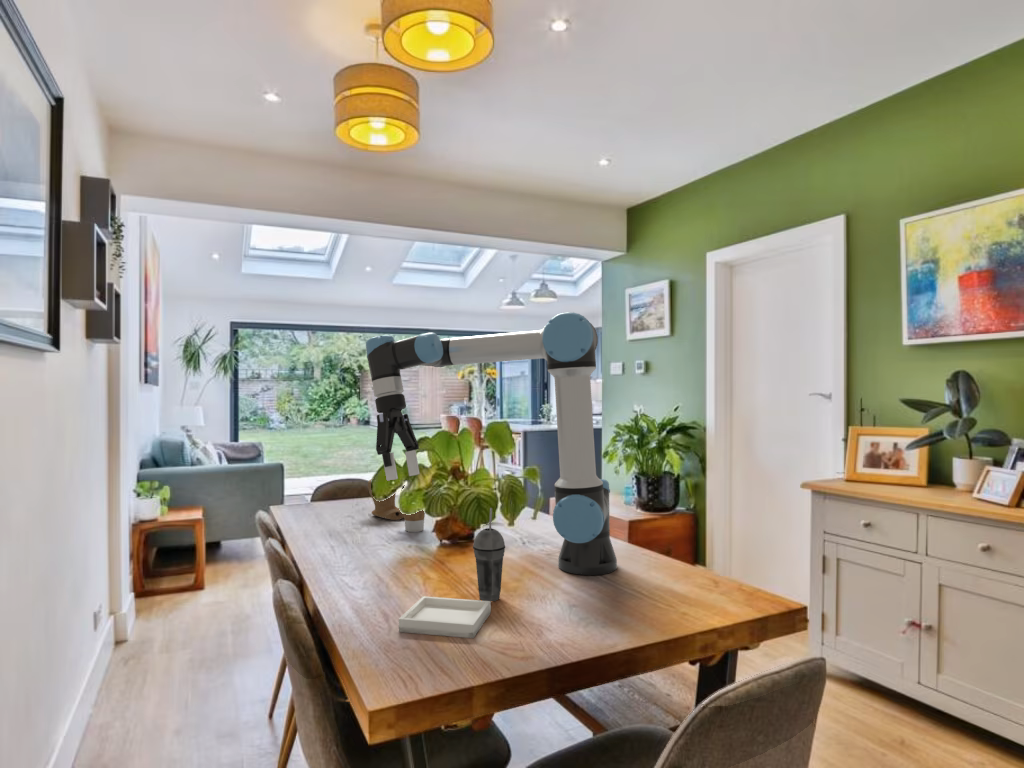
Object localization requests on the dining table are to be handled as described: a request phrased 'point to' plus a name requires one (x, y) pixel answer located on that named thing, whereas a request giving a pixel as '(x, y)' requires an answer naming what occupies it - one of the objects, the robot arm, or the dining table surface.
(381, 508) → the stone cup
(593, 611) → the dining table surface
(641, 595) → the dining table surface
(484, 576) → the beverage cup
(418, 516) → the coffee cup
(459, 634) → the tray
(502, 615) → the dining table surface
